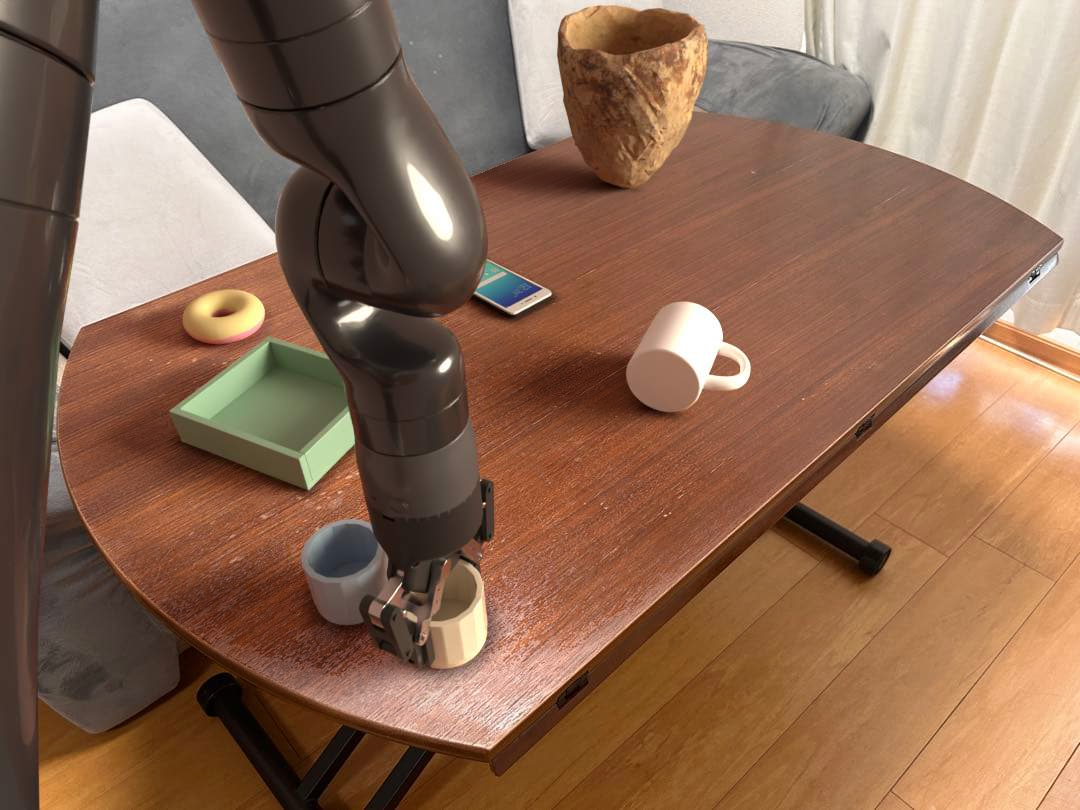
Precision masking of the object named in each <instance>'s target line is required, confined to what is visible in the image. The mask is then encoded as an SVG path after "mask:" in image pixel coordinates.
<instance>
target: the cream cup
mask: <svg viewBox="0 0 1080 810" xmlns="http://www.w3.org/2000/svg"><path fill="white" fill-rule="evenodd" d="M411 593H413V594H416V595H418V596H421V597H423V598H425V599H427V596H428V593H427V594H424V593H417V592H411ZM485 595H486V594H485V585H484V582H483V579H482V575H481V576H480V573H479V572H478V571H477V570H476V569H475V568H474V567H473V566H472V565H471V564H470V563H469V562H467V561H464V560H462V559H459V561H458V563H457V564H456V566H455V567H454V568H453V569H452V570H451V571H450V573H449V576H448V577H447V578H446V579H445V582H444V588H443V593H442V599H441V604H440V609H439V611H438V612H437V613H435V614H434V615H433V616H432V618H431V623H430V629H429V633H430V634H431V640H432V645H433V650H434V656H435V660H434V662H433V663H432V665H431V666H430V668H432V669H438V670H439V669H440V670H447V669H453V668H457V667H460V666H463V665H464V664H467V663H468V662H470V661H471V660H472V659H474V658H475V657H476V656H477V655H478V654H479V653H480V651H481V650H482V649H483V647H484V645H485V643H486V640H487V637H488V614H487V605H486V597H485ZM407 620H409V621H411V622H414V623H416V624H417V616H416V615H415V614H413V613H411V612H408V613H407Z"/></svg>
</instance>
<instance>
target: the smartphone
mask: <svg viewBox="0 0 1080 810" xmlns="http://www.w3.org/2000/svg"><path fill="white" fill-rule="evenodd" d="M471 298H473V299H475V300H477V301H479V302H481V303H483V304H484V305H486V306H488V307H489V308H491V309H493V310H495V311H497V312H499V313H500V314H503V316H506V317H508V318H510V319H516V318H517V317H519V316H521V315H523V314H524V313H526V312H529V311H531V310H532V309H535V308H536V307H538V306H540V305H541V304H543V303H546V302H547V301H549V300H550V299H552V290H550V289H548V288H546V287H545V286H543V285H540V284H538V283H536V282H534V281H532V280H530V279H528V278H526V277H524V276H523V275H520V274H518V273H516V272H515V271H513V270H510V269H509V268H506V267H504V266H503V265H500V264H499V263H497V262H494V261H492V260H491V259H488V258H487V261H486V266H485V270H484V274H483V277H482V279H481V281H480V283H479V285H478V287H477V289H476V291H475V292H474V294H473V295H472V297H471Z"/></svg>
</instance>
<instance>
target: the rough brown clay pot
mask: <svg viewBox="0 0 1080 810" xmlns="http://www.w3.org/2000/svg"><path fill="white" fill-rule="evenodd" d="M556 48H557V49H556V57H557V64H558V71H559V76H560V82H561V86H562V92H563V93H562V94H563V96H562V103H563V106H564V109H565V113H566V117H567V120H568V121H567V122H568V126H569V129H570V133H571V137H572V138H573V140H574V146H576V147H577V149H578V151H579V152H580V154H581V157H582V159H583V161H584V163H585V164H586V165H587V166H588V167H589V168H590V169H591V171H592V172H593V173H594V174H595V175H596V176H597V177H598V178H599V180H601V181H603V182H605V183H609V184H611V185H613V186H617V187H619V188H622V189H625V188H626V189H628V188H631V189H633V188H635V187H639V186H640V185H642V184H644V183H646V182H648V181H649V179H650V178H651V177H652V176H653V174H654V173H655V172H657V171H658V170H659V169H660V168H661V167H662V166H663V165H664V163H665V161H666V159H667V158H669V156H670V154H671V153H672V152H673V150H674V149H676V148H677V147H678V145H679V144H680V142H681V141H682V139H683V138H684V136H685V134H686V132H687V130H688V128H689V125H690V123H691V121H692V120H693V110H694V106H695V105H696V102H697V99H698V98H699V95H700V92H701V89H702V87H703V84H704V82H705V80H706V74H707V67H708V66H707V65H708V57H709V38H708V35H707V32H706V27H705V24H702V23H700V22H699V21H698V20H697V19H696V18H695V17H694V16H692V15H691V14H690V13H688V12H687V13H685V12H681V11H675V10H670V9H665V8H662V7H655V8H647V9H643V10H640V9H637V8H632V7H628V6H623V5H618V4H617V5H615V4H614V5H602V4H599V5H593V6H587V7H584V8H582V9H580V10H578V11H575V12H572V13H569V14H566V15H564V17H563V18H562V19H561V20H560V23H559V26H558V31H557V47H556Z"/></svg>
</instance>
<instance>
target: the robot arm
mask: <svg viewBox="0 0 1080 810" xmlns="http://www.w3.org/2000/svg"><path fill="white" fill-rule="evenodd" d="M100 3H101V0H0V810H41V809H40V806H41V805H40V757H39V756H40V754H39V753H40V751H39V747H40V746H39V667H38V666H39V663H38V662H39V661H38V660H39V659H38V658H39V657H38V656H39V617H40V616H39V614H40V613H39V610H40V600H41V599H40V597H41V584H42V570H43V559H44V548H45V537H46V536H45V535H46V526H47V525H46V522H47V512H48V500H49V499H48V498H49V486H50V472H51V459H52V445H53V433H54V419H55V409H56V395H57V383H58V374H59V373H58V372H59V359H60V351H61V350H60V349H61V340H62V333H63V327H64V319H65V313H66V307H67V300H68V293H69V288H70V282H71V275H72V269H73V265H74V258H75V251H76V245H77V239H78V233H79V227H80V222H79V221H78V219H79V218H81V208H82V200H83V191H84V183H85V175H86V174H85V173H86V165H87V156H88V155H87V154H88V146H89V137H90V128H91V120H92V119H91V118H92V110H93V109H92V108H93V102H94V101H93V100H94V88H93V85H95V83H96V74H97V56H98V40H99V39H98V38H99V22H100V21H99V19H100ZM190 3H191V5H192V6H193V9H194V11H195V13H196V16H197V17H198V19H199V22H200V24H201V25H202V27H203V30H204V32H205V33H206V35H207V38H208V39H209V42H210V44H211V46H212V48H213V51H214V52H215V55H216V57H217V58H218V60H219V63H220V64H221V67H222V69H223V71H224V74H225V75H226V77H227V79H228V81H229V83H230V85H231V88H232V90H233V91H234V93H235V96H236V98H237V100H238V102H239V105H240V106H241V108H242V111H243V112H244V114H245V116H246V118H247V120H248V122H249V123H250V125H251V126H252V128H253V130H254V131H255V133H256V134H257V136H258V137H259V139H261V141H262V142H263V143H264V144H265V145H266V146H267V147H268V148H269V149H270V150H271V151H273V152H274V153H276V154H278V155H279V156H281V157H283V158H284V159H286V160H288V161H290V162H292V163H295V164H297V165H299V167H298V168H297V169H296V170H295V171H294V172H293V173H292V174H291V175H290V177H288V179H287V181H286V183H285V184H284V186H283V188H282V189H281V190H282V191H281V192H280V195H279V198H278V202H277V206H276V211H275V219H274V239H275V246H276V247H275V248H276V251H277V252H276V253H277V257H278V261H279V265H280V268H281V271H282V273H283V276H284V279H285V281H286V283H287V285H288V287H289V290H290V292H291V293H292V296H293V297H294V299H295V301H296V303H297V305H298V307H299V308H300V310H301V312H302V314H303V316H304V317H305V319H306V322H307V323H308V325H309V326H310V329H311V330H312V331H313V334H314V335H315V337H316V339H317V341H318V342H319V344H320V346H321V348H322V349H323V351H324V353H325V354H326V355H327V356H328V358H329V359H330V361H331V362H332V364H333V365H334V366H335V368H336V369H337V371H338V373H339V374H340V376H341V378H342V381H343V386H344V392H345V396H346V400H347V405H348V409H349V413H350V418H351V422H352V426H353V431H354V439H355V444H354V455H355V461H356V467H357V470H358V475H359V479H360V484H361V489H362V492H363V497H364V500H365V506H366V509H367V513H368V517H369V521H370V522H369V523H370V524H371V526H372V531H373V534H374V536H375V538H376V540H377V541H378V543H379V544H380V546H381V547H382V549H383V550H384V551H385V553H386V555H387V558H388V567H387V579H388V582H387V584H386V585H385V587H384V588H383V589H382V591H381V592H380V594H379V595H378V596H377V598H376V597H374V596H371V595H369V594H367V595H365V596H364V597H363V598H362V600H361V602H360V605H359V611H360V613H361V616H362V618H363V620H364V622H363V623H364V625H365V627H366V629H367V632H368V634H369V637H370V639H371V642H372V644H373V647H374V648H375V649H377V650H379V651H383V652H385V653H387V654H390V655H392V656H394V657H396V658H398V660H401V661H403V662H406V663H409V664H411V665H412V666H415V667H417V668H419V669H423V668H426V669H430V668H431V667H430V666H431V665H432V663H433V662H434V660H435V656H434V650H433V645H432V640H431V634H430V633H429V629H430V623H431V618H432V616H433V615H434V614H435V613H437V612H438V611H439V609H440V604H441V599H442V593H443V588H444V582H445V579H446V578H447V577H448V576H449V573H450V571H451V570H452V569H453V568H454V567H455V566H456V564H457V563H458V561H459V559H462V560H464V561H467V562H469V563H470V564H471V565H472V566H473V567H474V568H475V569H476V570H477V571H478V572H479V573H480V576H481V577H482V571H481V562H482V560H483V558H484V553H485V550H484V549H483V547H482V546H483V545H484V544H485V543H484V542H486V543H490V542H491V541H492V540H493V538H494V535H495V483H494V481H492V480H489V479H487V478H483V477H481V475H480V468H479V466H480V465H479V455H478V446H477V445H478V444H477V437H476V432H475V429H474V424H473V422H472V418H471V413H470V406H469V397H468V396H469V395H468V386H467V374H466V363H465V357H464V353H463V349H462V346H461V344H460V341H459V339H458V338H457V336H456V334H455V333H453V332H452V331H451V330H450V328H448V327H447V326H446V325H444V324H443V323H441V322H439V321H438V320H436V319H437V318H441V317H445V316H447V315H450V314H452V313H454V312H455V311H457V310H459V309H461V308H462V307H463V306H465V304H466V303H467V302H468V301H469V300H470V299H471V298H473V297H472V295H473V294H474V292H475V291H476V289H477V287H478V285H479V283H480V281H481V279H482V277H483V274H484V270H485V266H486V261H487V259H488V251H489V238H488V227H487V226H488V225H487V221H486V215H485V212H484V208H483V205H482V203H481V200H480V196H479V193H478V191H477V189H476V187H475V185H474V182H473V181H472V178H471V176H470V174H469V172H468V170H467V168H466V167H465V165H464V164H463V162H462V160H461V158H460V156H459V154H458V153H457V151H456V149H455V148H454V146H453V144H452V142H451V140H450V139H449V137H448V135H447V134H446V132H445V130H444V129H443V127H442V125H441V123H440V121H439V119H438V118H437V116H436V114H435V112H434V111H433V108H432V107H431V105H430V104H429V102H428V100H427V99H426V97H425V96H424V94H423V93H422V91H421V90H420V88H419V86H418V84H417V83H416V81H415V80H414V78H413V76H412V74H411V73H410V71H409V67H408V64H407V61H406V56H405V53H404V49H403V44H402V41H401V37H400V33H399V30H398V26H397V23H396V19H395V15H394V12H393V8H392V4H391V1H390V0H190ZM434 318H436V319H434ZM411 592H417V593H424V594H427V593H428V596H427V599H425V598H423V597H421V596H418V595H416V594H413V593H411ZM408 612H411V613H413V614H415V615H416V616H417V624H416V623H414V622H411V621H409V620H407V613H408Z"/></svg>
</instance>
